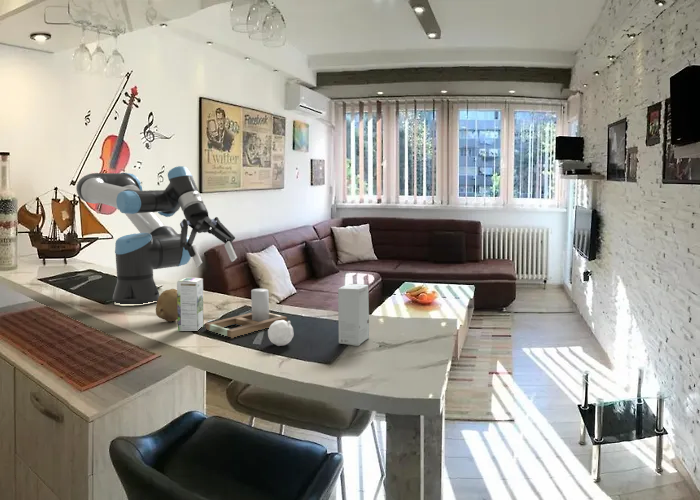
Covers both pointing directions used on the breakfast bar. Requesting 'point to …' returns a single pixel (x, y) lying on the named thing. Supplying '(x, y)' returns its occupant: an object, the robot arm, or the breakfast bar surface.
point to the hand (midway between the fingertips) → (217, 262)
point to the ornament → (280, 332)
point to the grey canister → (260, 304)
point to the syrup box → (190, 304)
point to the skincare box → (353, 314)
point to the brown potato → (167, 305)
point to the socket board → (243, 320)
